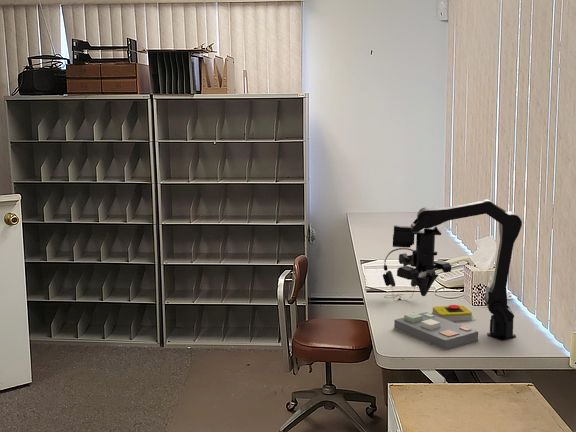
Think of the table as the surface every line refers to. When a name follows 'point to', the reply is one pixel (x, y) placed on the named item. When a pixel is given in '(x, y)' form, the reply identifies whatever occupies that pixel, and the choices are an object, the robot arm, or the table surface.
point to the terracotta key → (448, 333)
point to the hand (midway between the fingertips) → (423, 295)
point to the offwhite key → (430, 324)
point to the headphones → (389, 277)
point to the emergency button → (453, 313)
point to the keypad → (437, 332)
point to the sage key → (413, 317)
